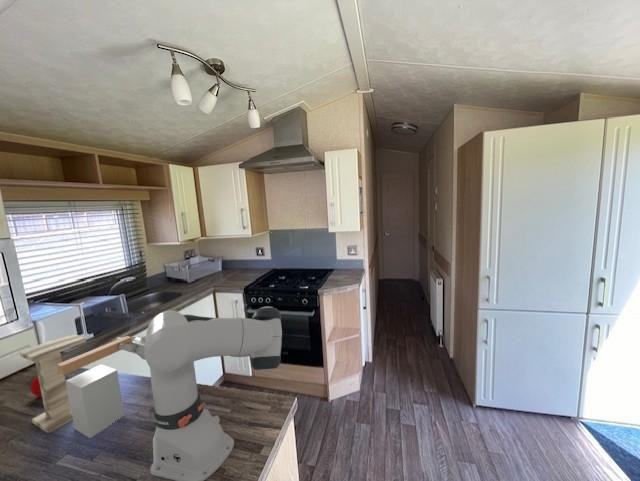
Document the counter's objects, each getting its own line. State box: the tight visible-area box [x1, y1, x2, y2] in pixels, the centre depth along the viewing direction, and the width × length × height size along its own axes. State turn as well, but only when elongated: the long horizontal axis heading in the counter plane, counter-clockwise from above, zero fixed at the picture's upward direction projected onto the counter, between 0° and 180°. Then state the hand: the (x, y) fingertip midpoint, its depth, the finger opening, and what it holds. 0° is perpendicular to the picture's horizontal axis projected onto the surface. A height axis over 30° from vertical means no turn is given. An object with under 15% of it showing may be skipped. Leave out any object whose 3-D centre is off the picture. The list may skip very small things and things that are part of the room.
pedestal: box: [65, 364, 125, 439], centre depth 91 cm, size 10×10×17 cm
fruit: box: [29, 375, 42, 398], centre depth 110 cm, size 9×9×10 cm
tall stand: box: [19, 333, 87, 434], centre depth 96 cm, size 12×14×26 cm
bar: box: [57, 335, 133, 375], centre depth 92 cm, size 3×20×3 cm, turn 153°
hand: (115, 345), depth 97 cm, fingers closed on bar, 3 cm apart
